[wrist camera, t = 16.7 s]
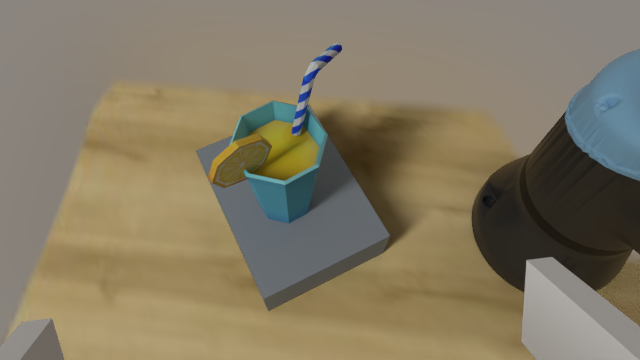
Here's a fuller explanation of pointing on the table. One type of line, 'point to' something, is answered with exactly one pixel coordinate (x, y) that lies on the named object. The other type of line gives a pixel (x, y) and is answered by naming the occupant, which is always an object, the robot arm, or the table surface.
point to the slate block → (302, 229)
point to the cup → (277, 151)
